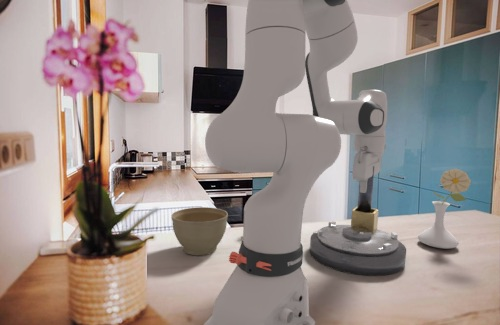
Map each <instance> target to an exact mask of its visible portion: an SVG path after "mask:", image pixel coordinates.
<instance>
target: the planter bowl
mask: <svg viewBox="0 0 500 325" xmlns="http://www.w3.org/2000/svg"><path fill="white" fill-rule="evenodd" d="M228 217H229V214H228V212H227V211H226V210H224V209H221V208H217V207H208V206H207V207H205V206H202V207H201V206H200V207H199V206H198V207H189V208H184V209H183V208H182V209H179V210H176V211H175V212H172V213H171V221H172V228H173V232H174V236H175V238H176V240H177V242H178V243H179V244H180V245H181V247H182V248H183V251H184V253H185V254H188V255H190V256H204V255H205V256H207V255H210V254H212V253H215V252H216V251H217V249H218V245H219V244H220V243H221V241H222V239H223V238H224V235H225V233H226V230H227V224H228Z"/></svg>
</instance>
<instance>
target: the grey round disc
mask: <svg viewBox="0 0 500 325" xmlns="http://www.w3.org/2000/svg"><path fill="white" fill-rule="evenodd" d="M350 218H351V219H350V220H351V222H350V224H337V223H336V222H335V221H329V222H328V226H324V227H321V228H319V229H317V231H318V237H317V238H318V240H319V242H320V243H321V244H323V245H324V246H326V247H328V248H330V249H333V250H336V251H339V252H343V253H348V254H353V255H361V256H384V255H389V254H392V253H394V252H396V251H397V250H398V246H399V242H400V241H399V240H398V234H397V233H396V232H391V233H389V232H386V231H383V230H381V229H378V224H379V223H378V222H379V221H378V220H379V209H377V208H372V207H371V212H370V213H367V212H361V211H357V206H355V207H354V208H353V209H352V210H351V216H350ZM398 241H399V242H398Z"/></svg>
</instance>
